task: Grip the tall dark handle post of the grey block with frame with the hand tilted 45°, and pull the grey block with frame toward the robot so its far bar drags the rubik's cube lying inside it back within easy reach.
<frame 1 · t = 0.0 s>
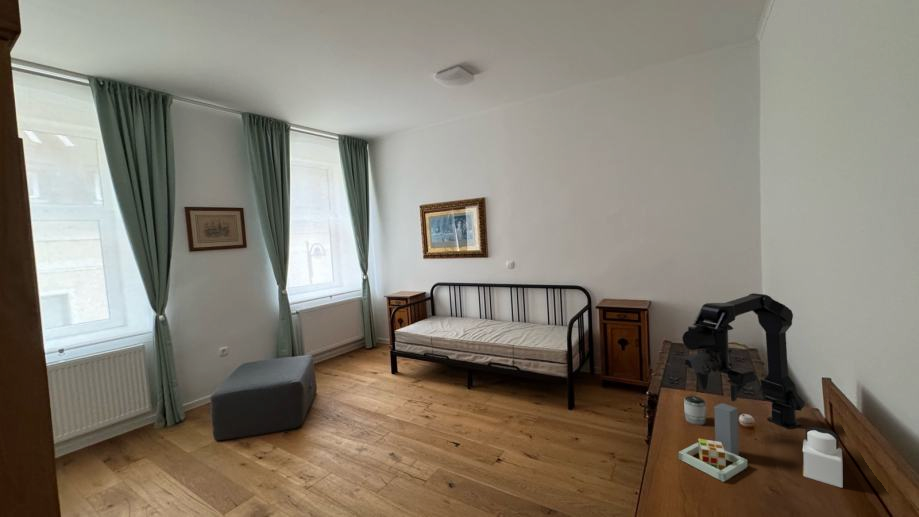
hand: (718, 394, 111), 15 cm above the table, tool pointing down, fingers open, 9 cm apart
medicine bottle: (822, 476, 94), on the table
camera lens: (695, 421, 124), on the table
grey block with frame: (715, 436, 102), point 7 cm above the table, slide at 0.0 cm
rubik's cube: (712, 464, 101), resting in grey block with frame
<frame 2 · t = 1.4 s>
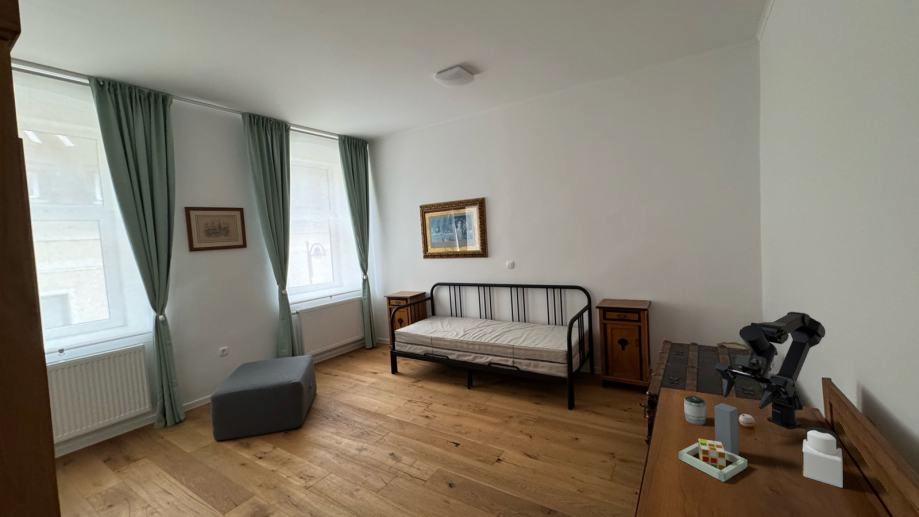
hand: (741, 402, 108), 13 cm above the table, tool tilted 45°, fingers open, 9 cm apart
nothing on the table moved.
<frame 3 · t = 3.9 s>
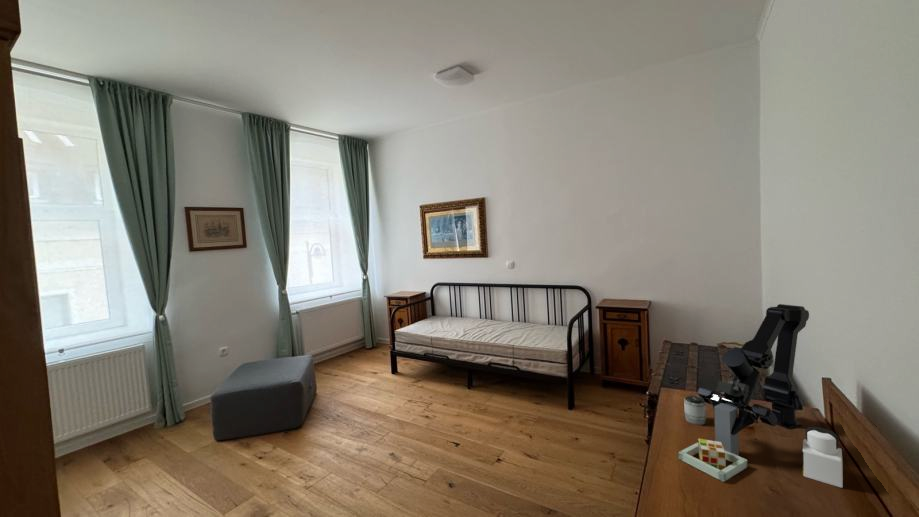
hand: (723, 430, 104), 8 cm above the table, tool tilted 45°, fingers closed on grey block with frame, 4 cm apart
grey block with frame: (715, 436, 102), point 7 cm above the table, slide at 0.0 cm, touching gripper
everything else where it was.
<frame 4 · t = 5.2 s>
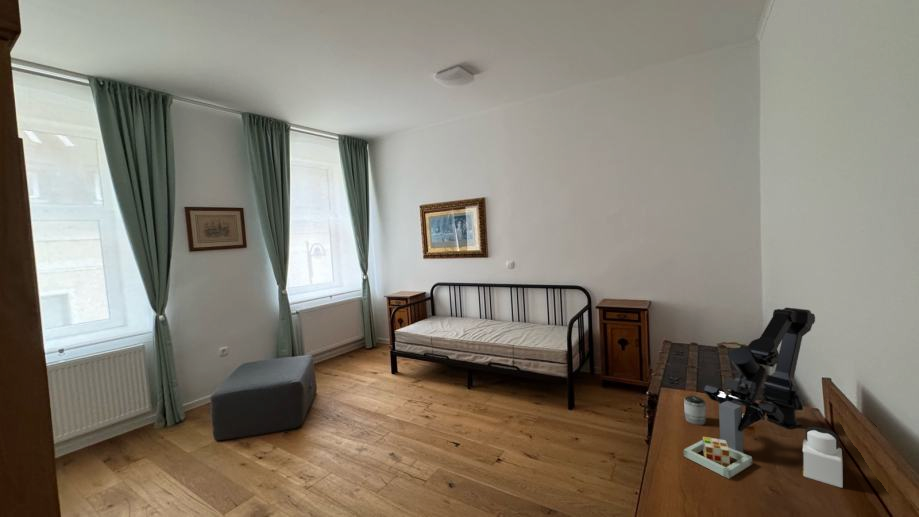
hand: (730, 427, 105), 8 cm above the table, tool tilted 45°, fingers closed on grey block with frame, 4 cm apart
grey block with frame: (720, 434, 103), point 7 cm above the table, slide at 2.4 cm, touching gripper
rubik's cube: (716, 462, 102), resting in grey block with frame
everything else where it was.
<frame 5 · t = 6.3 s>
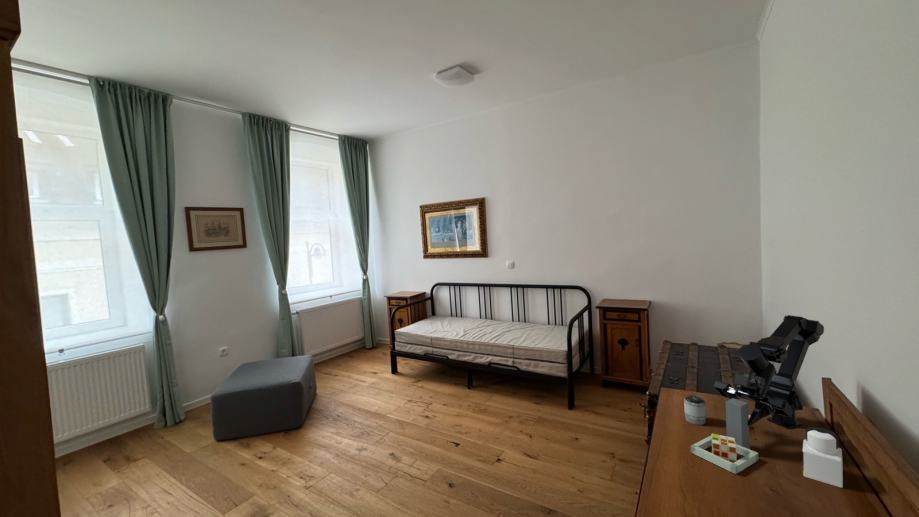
hand: (740, 422, 108), 8 cm above the table, tool tilted 45°, fingers closed on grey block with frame, 4 cm apart
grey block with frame: (726, 430, 105), point 7 cm above the table, slide at 5.8 cm, touching gripper
rubik's cube: (724, 459, 103), resting in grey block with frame
everything else where it was.
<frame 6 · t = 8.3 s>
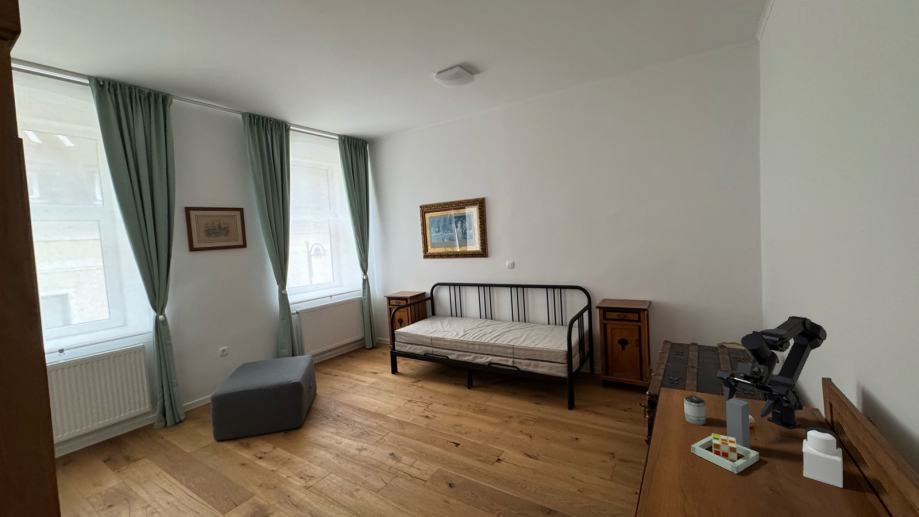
hand: (743, 410, 109), 11 cm above the table, tool tilted 45°, fingers open, 9 cm apart
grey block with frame: (727, 430, 105), point 7 cm above the table, slide at 6.0 cm
everything else where it was.
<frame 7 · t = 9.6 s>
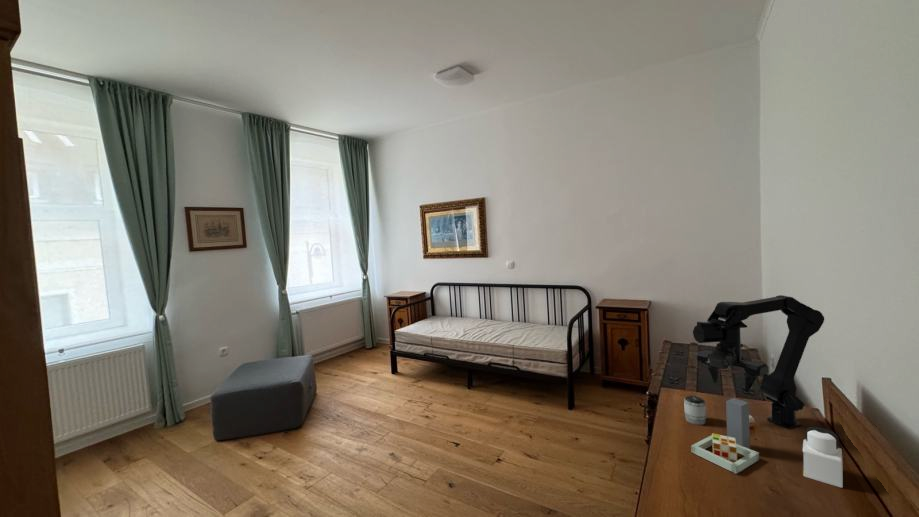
hand: (730, 387, 119), 13 cm above the table, tool pointing down, fingers open, 9 cm apart
nothing on the table moved.
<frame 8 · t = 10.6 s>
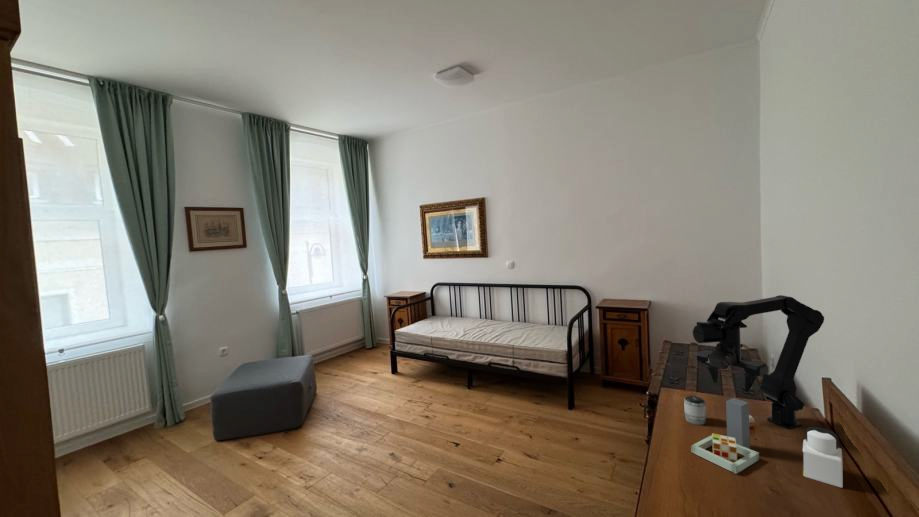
hand: (730, 387, 119), 13 cm above the table, tool pointing down, fingers open, 9 cm apart
nothing on the table moved.
at the end: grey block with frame slide at 6.0 cm; rubik's cube inside the target area (2.5 cm from its centre), resting in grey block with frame; rubik's cube moved 6.3 cm from its start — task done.
